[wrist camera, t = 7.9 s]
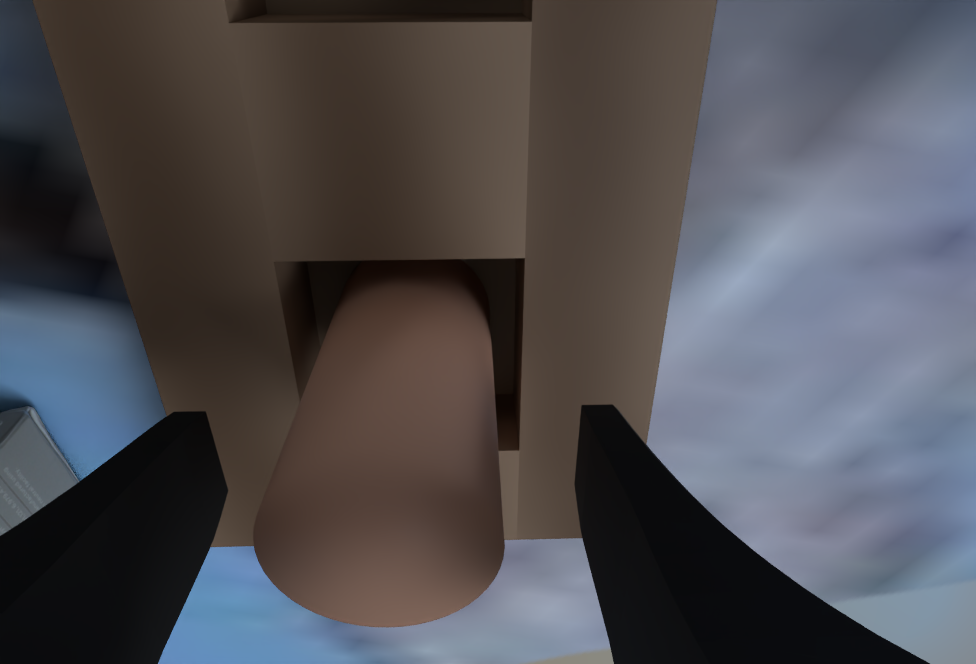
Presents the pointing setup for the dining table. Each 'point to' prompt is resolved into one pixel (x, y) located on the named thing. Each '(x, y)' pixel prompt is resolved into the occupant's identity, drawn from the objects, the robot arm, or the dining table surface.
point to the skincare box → (28, 467)
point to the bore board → (391, 199)
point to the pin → (392, 455)
